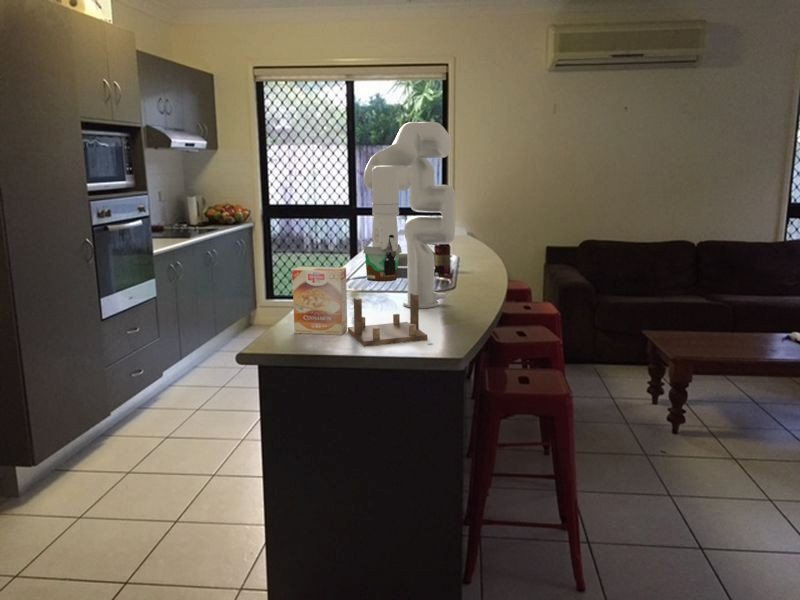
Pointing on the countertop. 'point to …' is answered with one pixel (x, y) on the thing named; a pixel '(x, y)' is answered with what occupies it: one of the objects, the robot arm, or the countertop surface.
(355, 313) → the peg stand
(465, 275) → the countertop surface
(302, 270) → the coffeecake box
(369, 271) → the food container
